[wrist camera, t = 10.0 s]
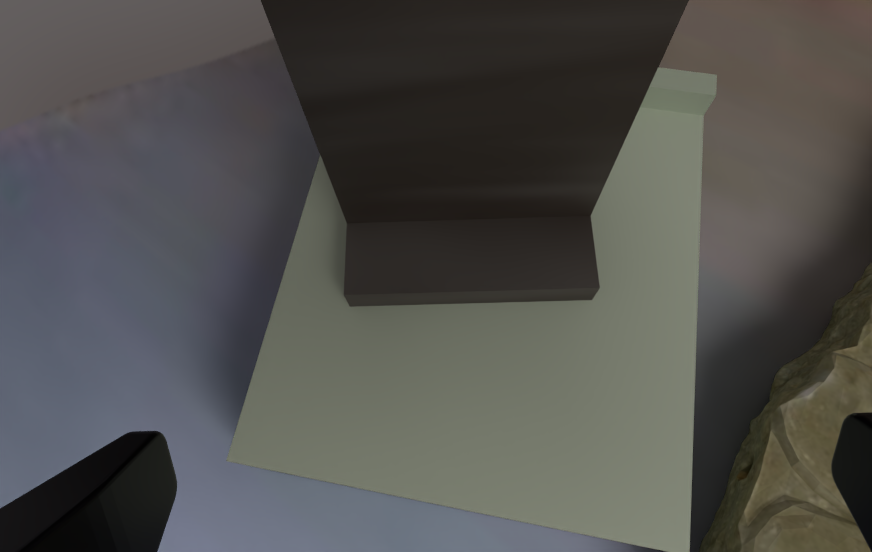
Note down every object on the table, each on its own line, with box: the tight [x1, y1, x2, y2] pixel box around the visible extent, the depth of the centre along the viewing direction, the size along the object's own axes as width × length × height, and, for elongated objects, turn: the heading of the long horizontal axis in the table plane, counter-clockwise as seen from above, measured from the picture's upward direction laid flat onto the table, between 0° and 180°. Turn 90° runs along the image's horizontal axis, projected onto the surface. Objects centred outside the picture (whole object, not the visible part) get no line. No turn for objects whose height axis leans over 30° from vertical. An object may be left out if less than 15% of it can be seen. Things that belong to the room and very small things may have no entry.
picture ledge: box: [226, 68, 717, 552], centre depth 18 cm, size 14×12×4 cm
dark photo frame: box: [261, 0, 689, 307], centre depth 12 cm, size 6×7×13 cm
